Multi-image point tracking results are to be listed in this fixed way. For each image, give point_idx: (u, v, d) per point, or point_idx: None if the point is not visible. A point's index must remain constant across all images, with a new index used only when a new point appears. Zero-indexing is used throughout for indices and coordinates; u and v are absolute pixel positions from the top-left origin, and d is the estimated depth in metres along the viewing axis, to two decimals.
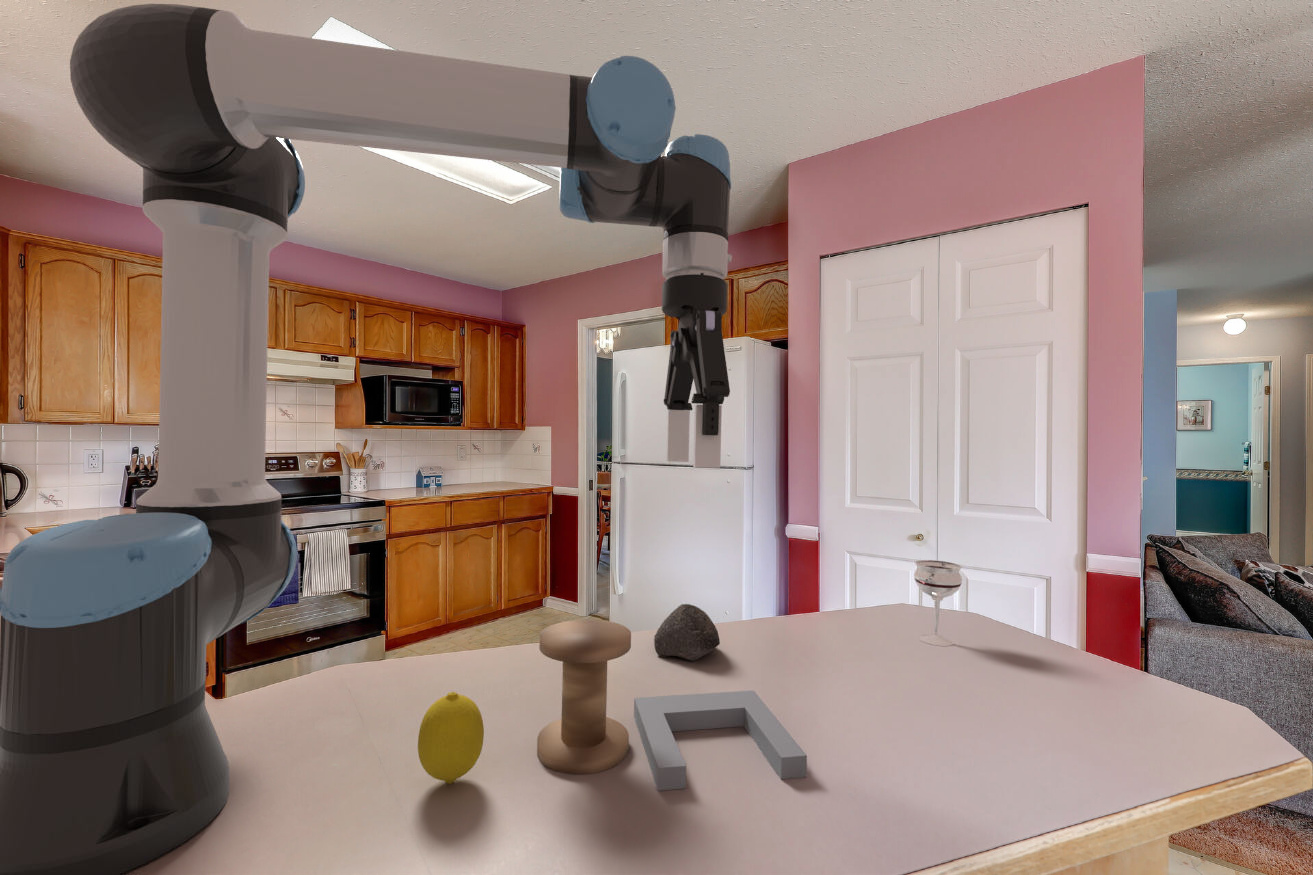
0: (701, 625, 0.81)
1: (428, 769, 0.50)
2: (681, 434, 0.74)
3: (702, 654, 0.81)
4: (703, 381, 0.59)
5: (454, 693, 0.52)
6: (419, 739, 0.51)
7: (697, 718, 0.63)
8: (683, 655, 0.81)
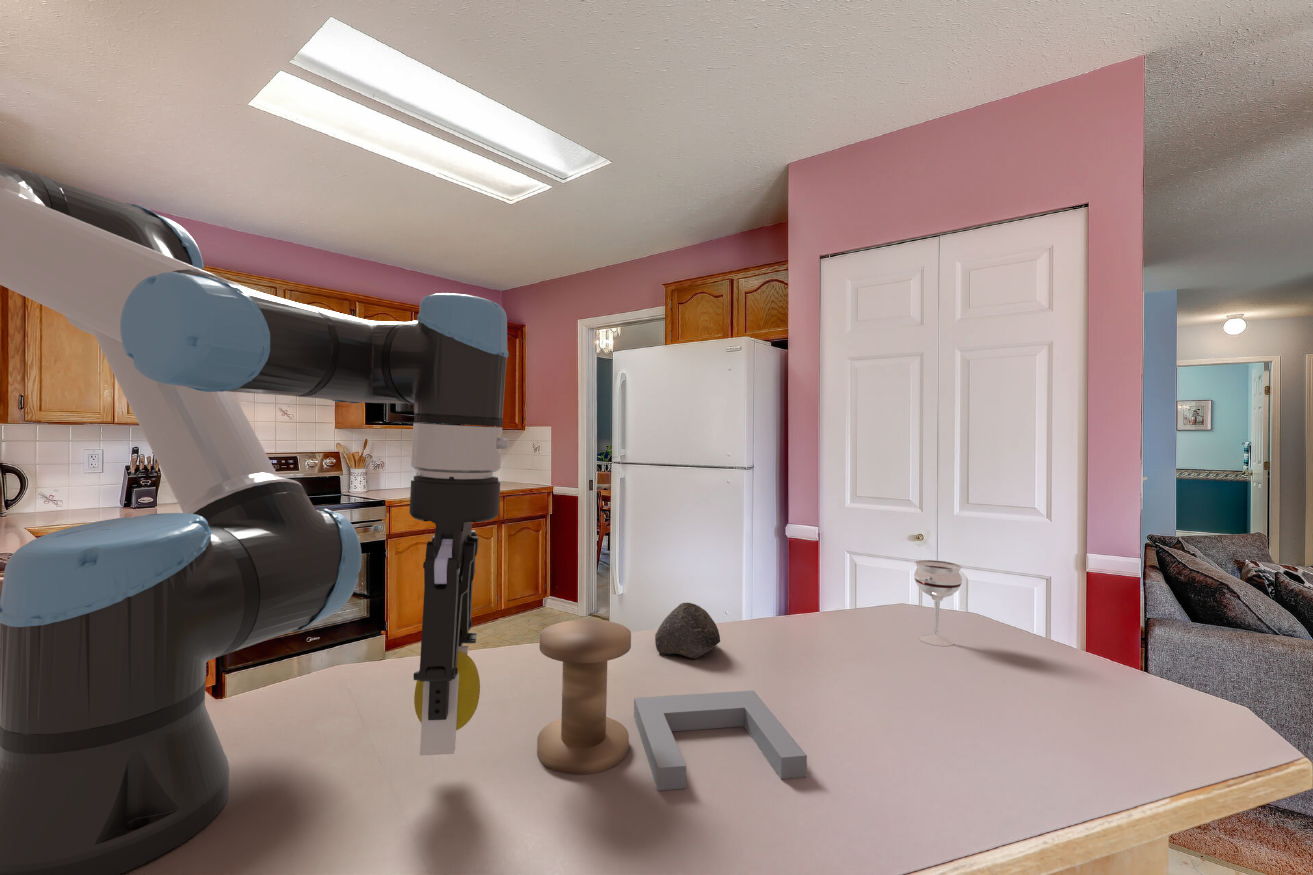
0: (702, 623, 0.82)
1: None
2: None
3: (703, 652, 0.82)
4: None
5: None
6: (416, 692, 0.51)
7: (697, 718, 0.63)
8: (684, 653, 0.82)
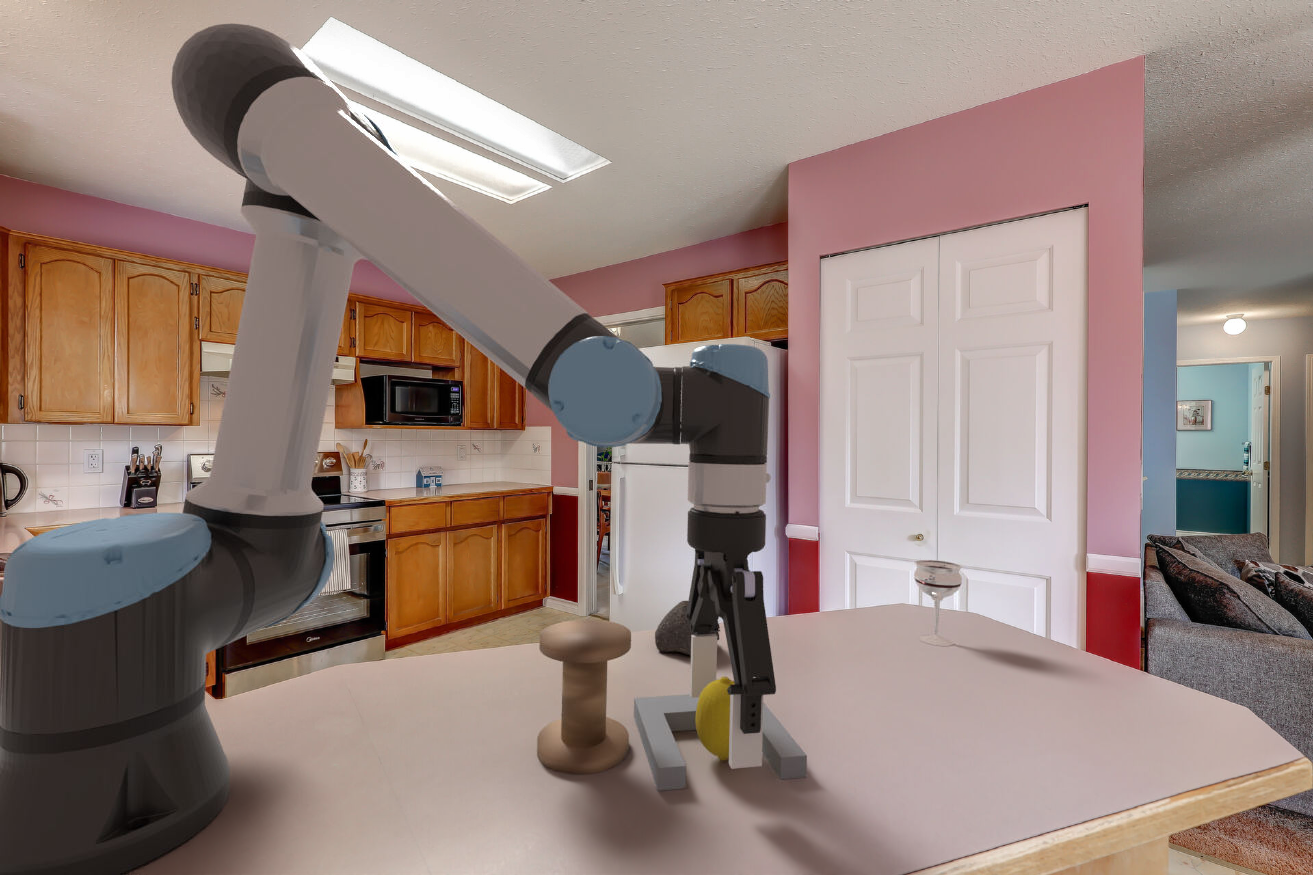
0: None
1: (714, 747, 0.55)
2: (707, 664, 0.63)
3: None
4: (743, 674, 0.48)
5: (727, 677, 0.57)
6: (702, 719, 0.55)
7: None
8: (684, 650, 0.83)
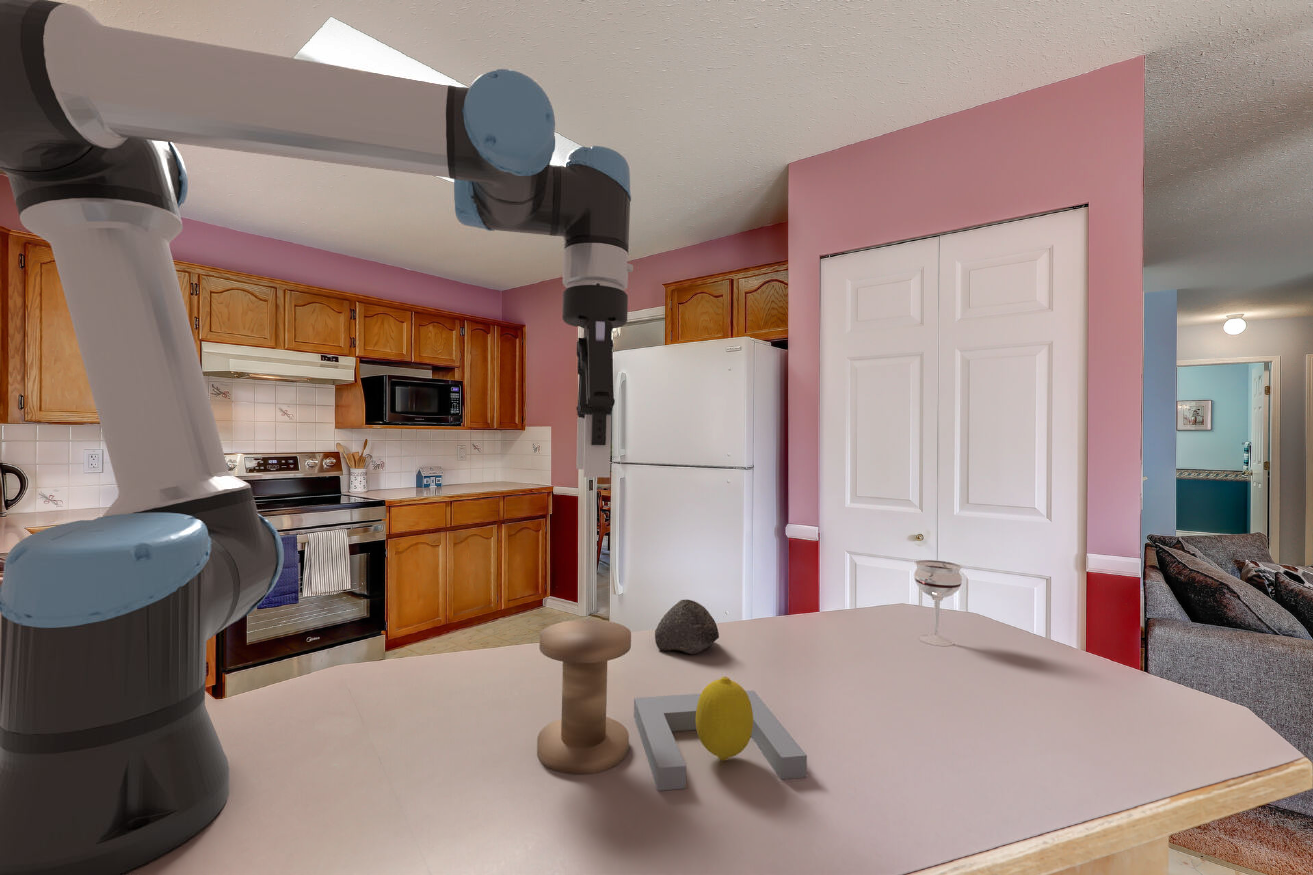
0: (702, 620, 0.84)
1: (714, 747, 0.55)
2: None
3: (703, 647, 0.84)
4: None
5: (727, 677, 0.57)
6: (702, 719, 0.55)
7: None
8: (684, 649, 0.84)
